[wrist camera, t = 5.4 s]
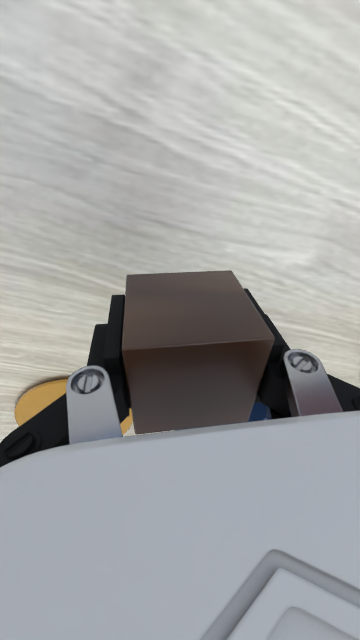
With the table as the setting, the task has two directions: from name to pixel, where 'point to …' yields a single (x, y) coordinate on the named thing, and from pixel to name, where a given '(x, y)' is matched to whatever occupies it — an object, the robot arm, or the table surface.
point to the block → (191, 350)
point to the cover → (48, 402)
